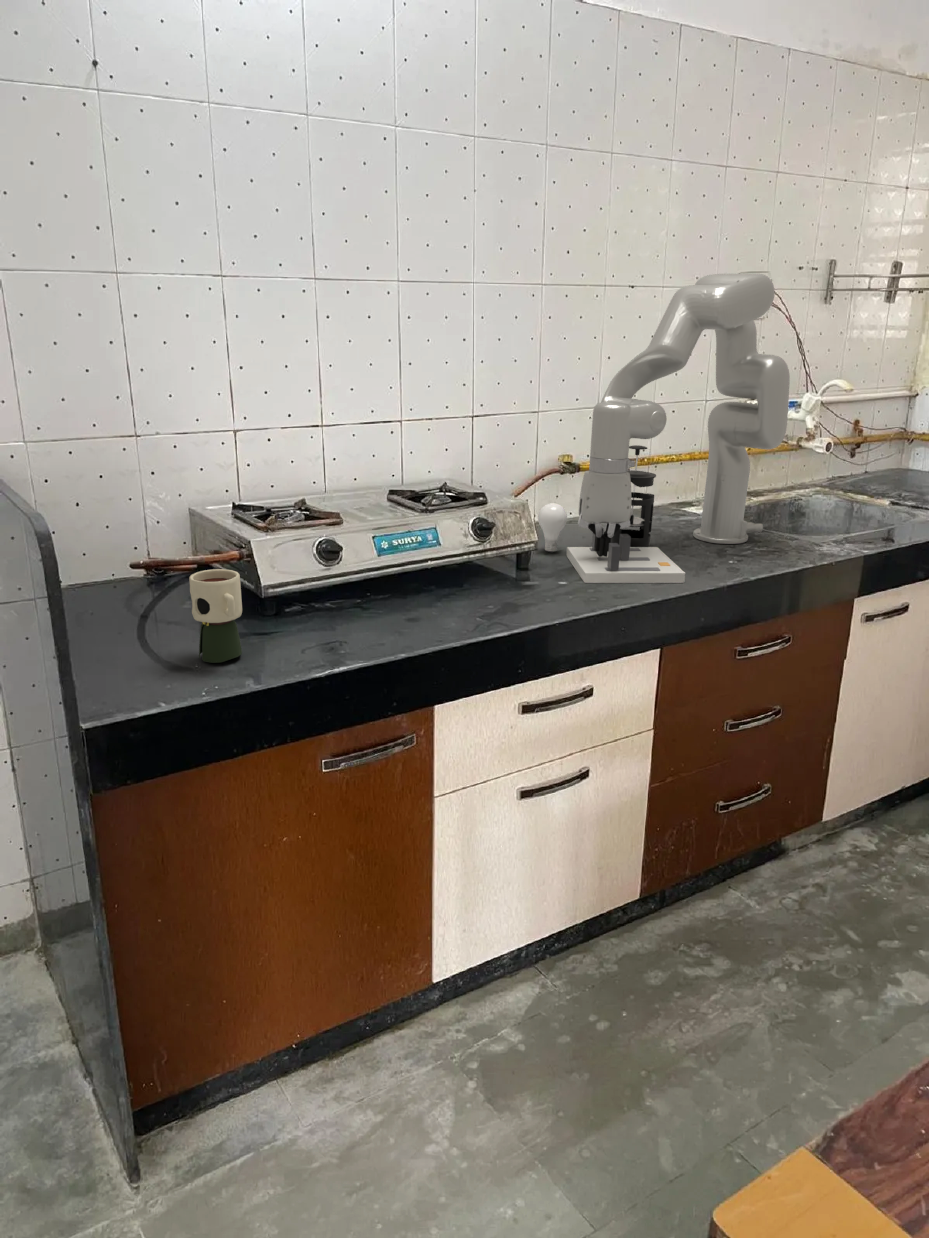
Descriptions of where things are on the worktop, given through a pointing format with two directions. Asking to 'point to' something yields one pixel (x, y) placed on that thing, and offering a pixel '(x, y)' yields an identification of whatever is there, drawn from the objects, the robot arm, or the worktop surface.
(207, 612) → the character mug
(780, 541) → the worktop surface
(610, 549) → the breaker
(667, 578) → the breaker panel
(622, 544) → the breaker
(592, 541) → the breaker
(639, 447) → the french press
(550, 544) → the lightbulb
